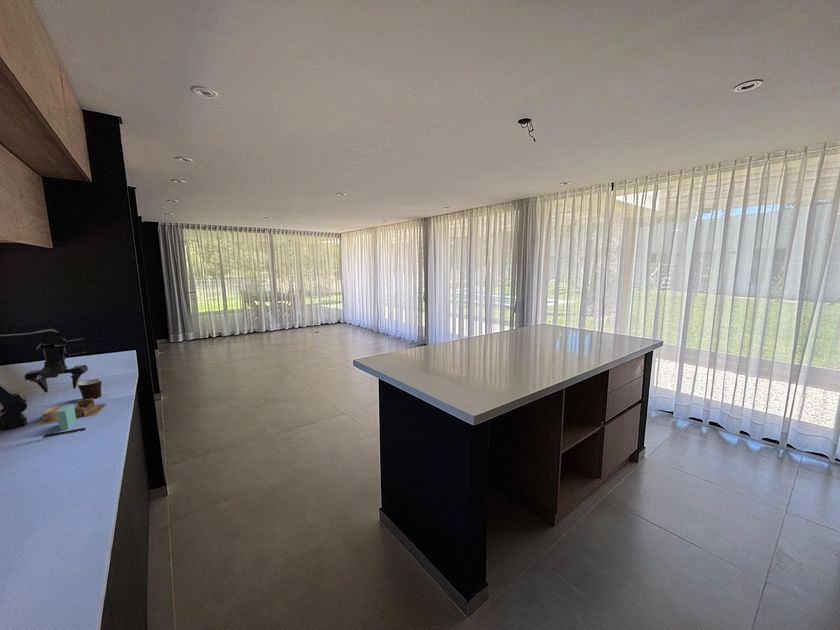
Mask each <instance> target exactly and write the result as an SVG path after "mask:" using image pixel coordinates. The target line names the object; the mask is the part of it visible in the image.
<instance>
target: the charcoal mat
mask: <svg viewBox="0 0 840 630" xmlns="http://www.w3.org/2000/svg"><path fill="white" fill-rule="evenodd" d="M85 429H86V427H81V428H76V429H71V430H69V429H68V430H65V431H66V432H64V431H58V432H53V433H47V434H45V435H43V436H42V438H43V439H45V438H51V437H57V436H62V435H68V434H74V433H79V432H78V431H80V432H84V431H85Z"/></svg>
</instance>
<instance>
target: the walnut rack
mask: <svg viewBox="0 0 840 630" xmlns="http://www.w3.org/2000/svg"><path fill="white" fill-rule="evenodd" d="M94 400H95V399H93V398H91V399H84V400H83V399H78V400H76V404H77V405H76V406H74V409H75V415H76V419H81V418H87V417H93V416H94V417H95V416H97V415H98V414H99V413H100V412H101V410H103V409H104V408H105V406H106V405H107V404H108V403H107V402H106V403H100V404H95V401H94ZM56 422H59V421H58V419H52V420H46V421H43V417H41V419H40V420H39V421H37V422H36V423H35V424H34V426H38V425H44V424H50V423H51V424H52V423H56Z"/></svg>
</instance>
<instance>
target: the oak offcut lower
mask: <svg viewBox="0 0 840 630" xmlns="http://www.w3.org/2000/svg"><path fill="white" fill-rule="evenodd" d="M42 418H43V421H46V420H52V419H58V416H57V415H55V416H49V417H42Z"/></svg>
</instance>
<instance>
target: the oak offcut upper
mask: <svg viewBox="0 0 840 630" xmlns="http://www.w3.org/2000/svg"><path fill="white" fill-rule="evenodd" d="M64 406H65V405H60V406H54V407H49V408H47V409H46V410H45V411H44V412H43V413H41V418H43V417H49V416H55V415H57V412H58V411H59V410H60V409H61V408H62V407H64Z"/></svg>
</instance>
